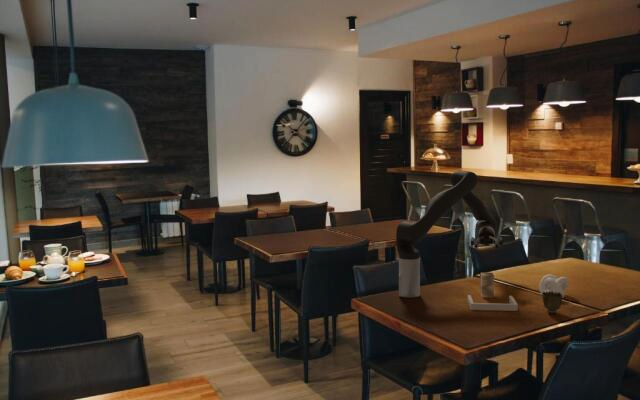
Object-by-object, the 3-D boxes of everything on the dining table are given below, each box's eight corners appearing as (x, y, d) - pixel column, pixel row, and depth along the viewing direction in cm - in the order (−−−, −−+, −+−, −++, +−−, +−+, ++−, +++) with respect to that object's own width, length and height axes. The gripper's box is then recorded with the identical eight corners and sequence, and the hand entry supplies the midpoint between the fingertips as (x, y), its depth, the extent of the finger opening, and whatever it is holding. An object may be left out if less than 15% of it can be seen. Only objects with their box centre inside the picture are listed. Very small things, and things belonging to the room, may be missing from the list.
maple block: (482, 297, 253) (482, 275, 252) (480, 294, 258) (480, 272, 257) (493, 297, 252) (494, 275, 251) (492, 294, 257) (492, 272, 256)
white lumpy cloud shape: (534, 296, 252) (534, 276, 251) (544, 291, 261) (545, 271, 260) (560, 301, 244) (560, 280, 243) (570, 295, 253) (571, 275, 252)
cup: (563, 316, 225) (564, 296, 224) (543, 315, 226) (544, 295, 225) (559, 310, 232) (560, 291, 231) (540, 309, 233) (541, 290, 232)
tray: (470, 309, 236) (470, 303, 235) (467, 300, 248) (467, 295, 248) (517, 310, 233) (517, 304, 233) (511, 301, 246) (512, 295, 245)
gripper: (470, 228, 277) (469, 239, 262) (501, 227, 273) (502, 238, 258) (471, 243, 278) (470, 254, 263) (502, 242, 274) (503, 254, 259)
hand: (486, 246), depth 261 cm, fingers open, 8 cm apart
